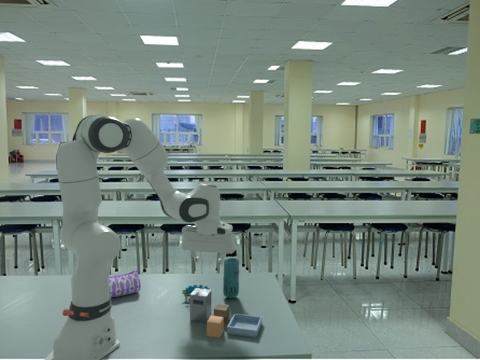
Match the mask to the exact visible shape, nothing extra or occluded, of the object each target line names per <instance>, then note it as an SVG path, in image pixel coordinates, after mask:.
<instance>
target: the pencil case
mask: <svg viewBox="0 0 480 360" xmlns="http://www.w3.org/2000/svg"><path fill="white" fill-rule="evenodd" d="M138 273H139V269H137V268H136V271H135V270H131V271H129V272H126V273H122V274H116V275H113V276H109V295H110V297H111V299H113V298H117V297H122V296H126V295H127V296H128V295H131V294H136V293H139V292H140V291H141V279H140V276H139V274H138Z"/></svg>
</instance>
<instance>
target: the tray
mask: <svg viewBox="0 0 480 360" xmlns="http://www.w3.org/2000/svg"><path fill="white" fill-rule="evenodd" d="M262 325H263V316H259V315H250V314H243V313H234V314H233V315H232V316H231V319H230V321H229V323H228V324H227V326H226V334H227V335H229V336H230V335H231V336H239V337H246V338H252V339H257V337H258V335H259V332H260V331H261V327H262Z"/></svg>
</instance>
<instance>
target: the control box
mask: <svg viewBox="0 0 480 360" xmlns="http://www.w3.org/2000/svg"><path fill="white" fill-rule="evenodd" d="M209 289H210V288H209ZM209 289H200V288H195V289H194V291H193V292H192V293H191V294H190V297H189V322H192V323H197V324H198V323H200V324H206V325H207V321H208V319H209V318H210V316H212V289H210V290H209Z"/></svg>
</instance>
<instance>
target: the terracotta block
mask: <svg viewBox="0 0 480 360" xmlns="http://www.w3.org/2000/svg"><path fill="white" fill-rule="evenodd" d="M224 325H225V324H224V317H219V316H214V315H211V316H210V318H209V319H208V321H207V323H206V337H214V338H221V337H222V334H224V333H223V332H224V328H225V327H224Z"/></svg>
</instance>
